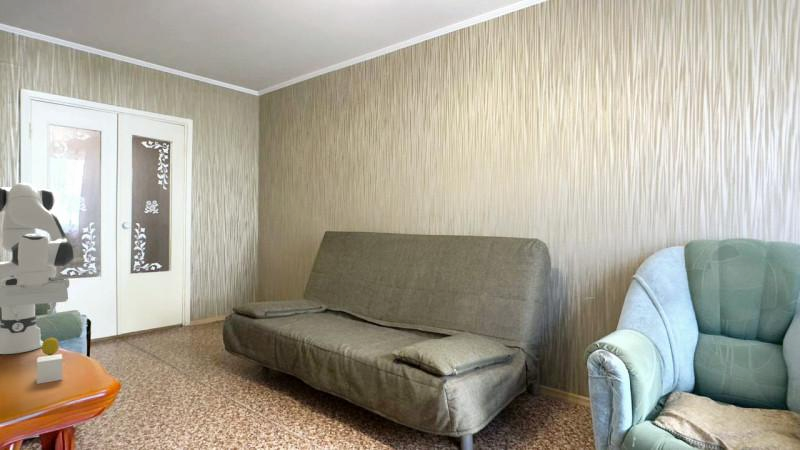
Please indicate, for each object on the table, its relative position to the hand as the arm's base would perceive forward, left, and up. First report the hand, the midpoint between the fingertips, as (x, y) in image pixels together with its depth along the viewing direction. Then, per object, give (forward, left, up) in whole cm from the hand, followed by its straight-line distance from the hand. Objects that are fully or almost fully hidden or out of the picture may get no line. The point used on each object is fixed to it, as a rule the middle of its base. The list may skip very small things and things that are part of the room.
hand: (33, 316), depth 159 cm
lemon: (-28, +5, -22) cm, 36 cm away
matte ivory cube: (+6, +5, -22) cm, 23 cm away
